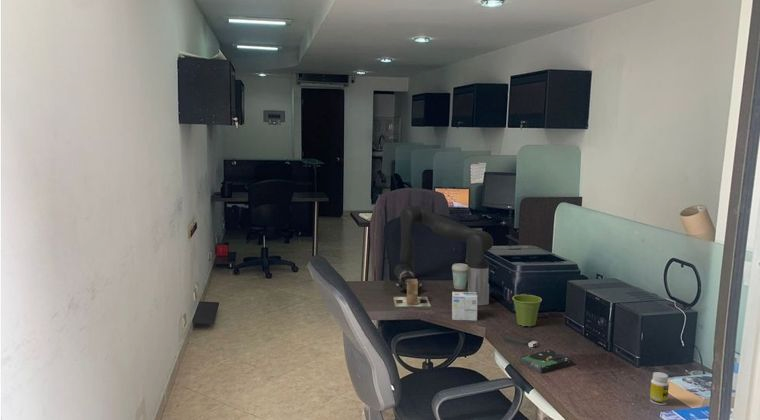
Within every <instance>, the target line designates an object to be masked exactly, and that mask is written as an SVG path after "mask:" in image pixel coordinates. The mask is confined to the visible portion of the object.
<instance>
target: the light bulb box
mask: <svg viewBox="0 0 760 420" xmlns="http://www.w3.org/2000/svg"><path fill="white" fill-rule="evenodd" d="M451 293H452V297H451V318H452V321H453V320H454V321H473V322H474V321H476V322H477V321H478V305H477V293H476V292H468V291H452V292H451Z"/></svg>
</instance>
